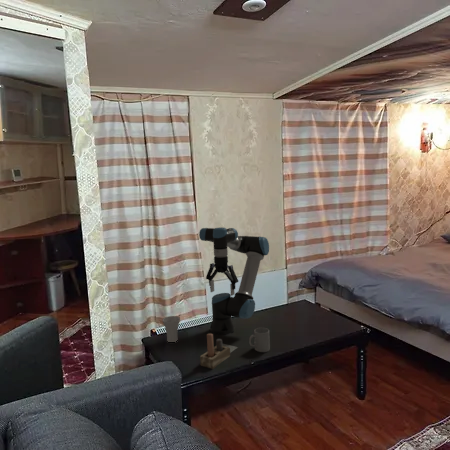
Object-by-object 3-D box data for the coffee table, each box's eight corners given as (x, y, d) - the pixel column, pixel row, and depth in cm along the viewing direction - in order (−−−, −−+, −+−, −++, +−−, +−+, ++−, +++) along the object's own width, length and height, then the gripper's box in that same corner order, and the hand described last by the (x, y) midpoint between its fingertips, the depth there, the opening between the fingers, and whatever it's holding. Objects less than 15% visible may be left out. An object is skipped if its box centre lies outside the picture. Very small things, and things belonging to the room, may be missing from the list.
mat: (213, 351, 230) (213, 350, 230) (223, 344, 239) (223, 343, 239) (228, 354, 225) (228, 354, 225) (237, 347, 233) (237, 347, 233)
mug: (265, 344, 236) (264, 326, 234) (272, 350, 228) (272, 331, 226) (246, 349, 231) (245, 330, 230) (253, 355, 224) (252, 335, 222)
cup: (184, 338, 250) (182, 316, 248) (177, 345, 240) (176, 323, 238) (167, 336, 253) (166, 315, 251) (160, 343, 243) (159, 321, 241)
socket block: (200, 365, 214) (199, 347, 213) (218, 353, 227) (217, 335, 226) (213, 369, 210) (212, 350, 208) (230, 356, 223) (229, 338, 222)
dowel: (207, 364, 215) (205, 335, 213) (210, 362, 217) (209, 333, 215) (212, 366, 213) (210, 336, 211) (215, 363, 216) (214, 334, 213)
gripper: (198, 255, 231) (200, 292, 234) (236, 259, 217) (237, 298, 220) (206, 252, 237) (208, 288, 240) (243, 256, 223) (245, 294, 226)
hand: (222, 293), depth 230 cm, fingers open, 13 cm apart
